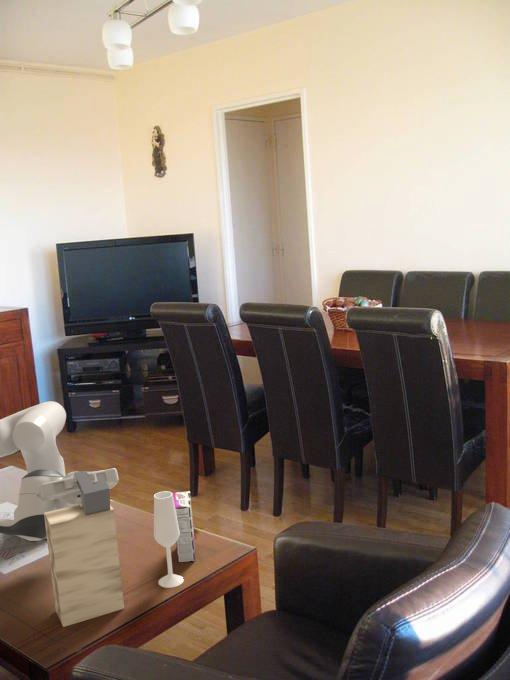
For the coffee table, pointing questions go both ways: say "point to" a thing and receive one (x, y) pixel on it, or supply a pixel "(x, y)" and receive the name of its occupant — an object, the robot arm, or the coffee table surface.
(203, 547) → the coffee table surface
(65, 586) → the pedestal
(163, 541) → the champagne flute
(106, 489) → the t handle
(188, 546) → the candy bar box
